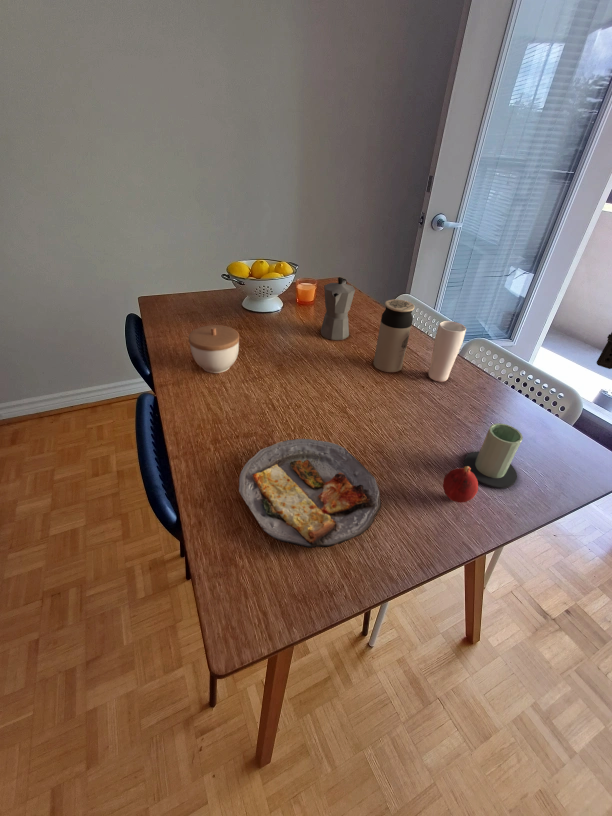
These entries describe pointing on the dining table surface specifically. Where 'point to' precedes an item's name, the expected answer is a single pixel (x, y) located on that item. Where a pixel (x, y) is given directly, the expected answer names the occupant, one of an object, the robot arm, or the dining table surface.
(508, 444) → the cup
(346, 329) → the coffeepot
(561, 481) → the dining table surface
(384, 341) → the travel mug
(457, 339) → the drinking glass
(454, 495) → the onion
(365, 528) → the food plate
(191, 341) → the lidded bowl
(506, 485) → the coaster
